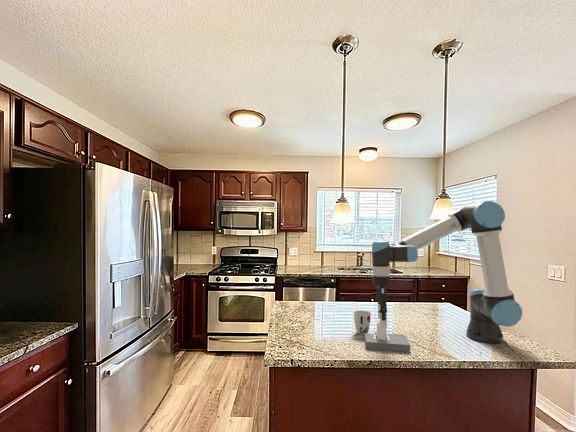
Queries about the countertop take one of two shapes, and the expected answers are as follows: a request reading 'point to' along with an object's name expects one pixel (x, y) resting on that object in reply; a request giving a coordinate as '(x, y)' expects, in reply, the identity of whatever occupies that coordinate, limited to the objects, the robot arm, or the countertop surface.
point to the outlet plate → (387, 343)
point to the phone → (393, 334)
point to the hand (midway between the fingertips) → (382, 323)
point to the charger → (380, 331)
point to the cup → (362, 321)
